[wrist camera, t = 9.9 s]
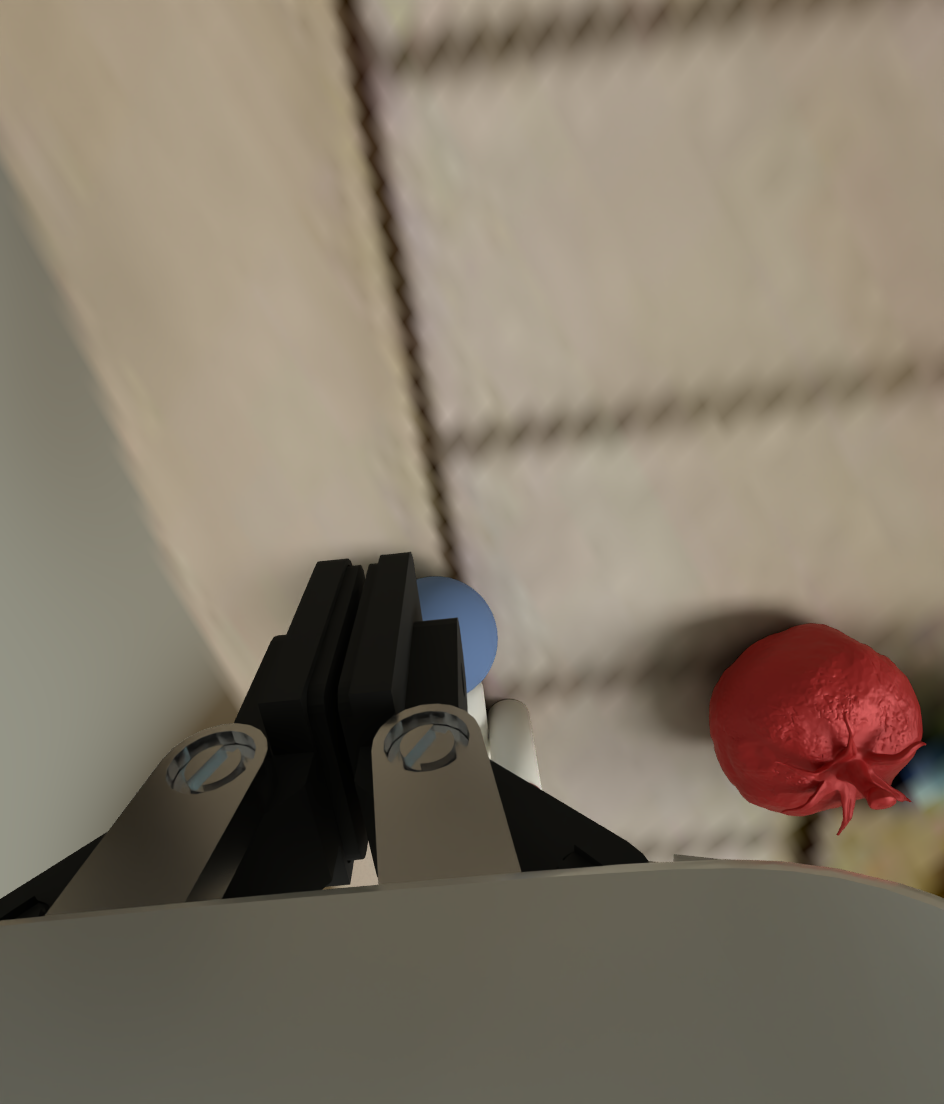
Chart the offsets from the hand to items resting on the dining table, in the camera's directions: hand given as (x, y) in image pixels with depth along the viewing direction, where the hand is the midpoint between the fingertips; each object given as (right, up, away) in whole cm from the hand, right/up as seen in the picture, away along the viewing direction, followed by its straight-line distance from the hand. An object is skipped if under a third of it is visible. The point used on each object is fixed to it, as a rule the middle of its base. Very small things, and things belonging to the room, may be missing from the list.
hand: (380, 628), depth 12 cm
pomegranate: (+19, -6, +25) cm, 32 cm away
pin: (+4, -8, +25) cm, 27 cm away
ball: (0, -3, +19) cm, 19 cm away
